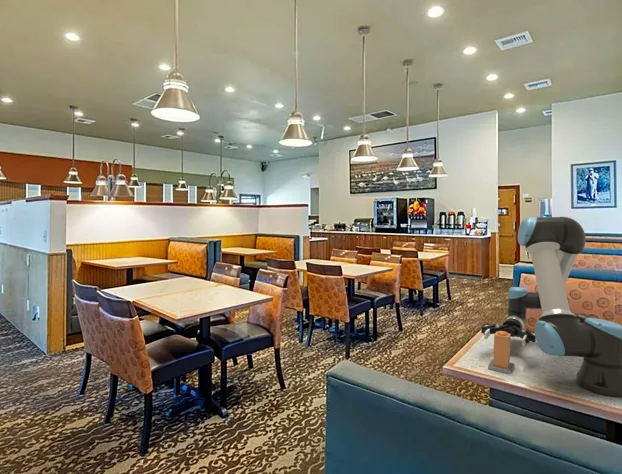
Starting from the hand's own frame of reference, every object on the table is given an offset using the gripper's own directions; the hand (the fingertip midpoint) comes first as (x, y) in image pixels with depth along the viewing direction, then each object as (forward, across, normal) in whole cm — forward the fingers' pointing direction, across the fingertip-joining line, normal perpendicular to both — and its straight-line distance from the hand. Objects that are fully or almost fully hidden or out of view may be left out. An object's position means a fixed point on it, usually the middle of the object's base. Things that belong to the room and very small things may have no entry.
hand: (503, 339), depth 151 cm
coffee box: (-35, -25, -10) cm, 44 cm away
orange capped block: (+4, 0, -9) cm, 10 cm away
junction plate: (+4, 0, -10) cm, 11 cm away
